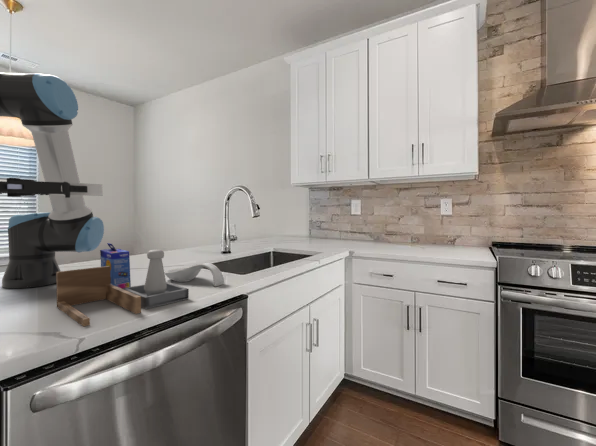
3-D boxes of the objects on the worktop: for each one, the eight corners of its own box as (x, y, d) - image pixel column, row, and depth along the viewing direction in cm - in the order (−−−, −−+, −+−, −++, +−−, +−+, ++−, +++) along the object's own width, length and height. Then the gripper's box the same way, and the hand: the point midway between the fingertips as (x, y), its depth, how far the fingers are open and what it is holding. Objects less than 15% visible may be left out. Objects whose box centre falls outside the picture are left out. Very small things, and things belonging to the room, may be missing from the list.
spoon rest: (157, 281, 109) (157, 261, 109) (183, 275, 120) (183, 257, 120) (208, 290, 99) (208, 267, 99) (231, 282, 109) (232, 262, 109)
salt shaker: (142, 299, 84) (142, 251, 83) (145, 294, 89) (144, 249, 88) (166, 297, 86) (166, 250, 85) (167, 292, 91) (167, 248, 90)
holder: (56, 307, 79) (56, 271, 78) (108, 297, 88) (108, 265, 88) (83, 326, 66) (82, 284, 66) (140, 312, 75) (140, 276, 75)
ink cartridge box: (99, 287, 99) (99, 242, 98) (118, 284, 103) (118, 241, 102) (111, 293, 92) (111, 244, 92) (131, 289, 97) (131, 243, 96)
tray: (122, 298, 87) (122, 288, 87) (163, 290, 96) (163, 281, 96) (145, 309, 78) (145, 297, 78) (188, 299, 88) (188, 288, 87)
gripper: (-38, 203, 69) (75, 204, 86) (-22, 206, 54) (111, 206, 70) (-40, 170, 69) (74, 177, 85) (-24, 162, 53) (111, 173, 70)
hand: (91, 190), depth 78 cm, fingers open, 13 cm apart
